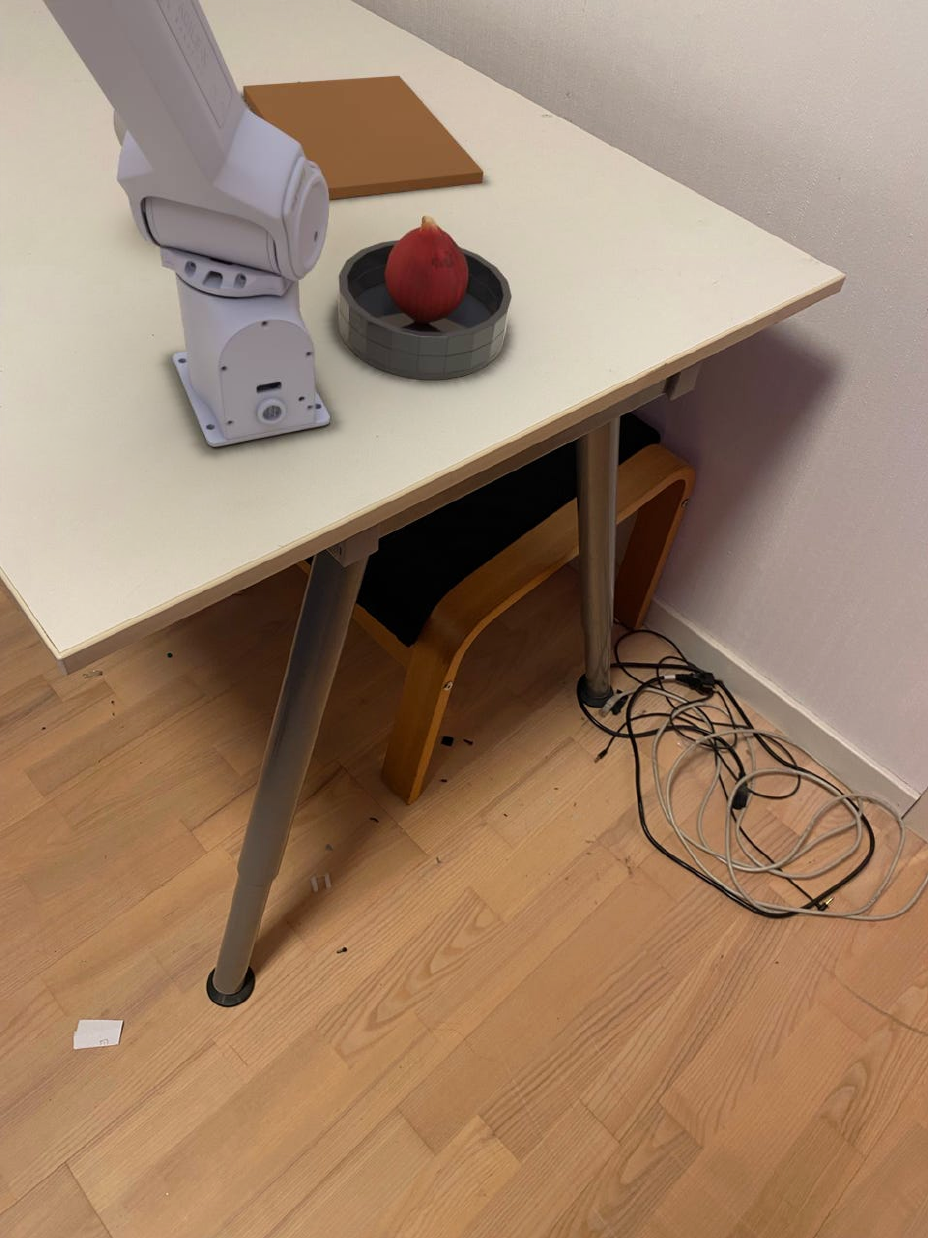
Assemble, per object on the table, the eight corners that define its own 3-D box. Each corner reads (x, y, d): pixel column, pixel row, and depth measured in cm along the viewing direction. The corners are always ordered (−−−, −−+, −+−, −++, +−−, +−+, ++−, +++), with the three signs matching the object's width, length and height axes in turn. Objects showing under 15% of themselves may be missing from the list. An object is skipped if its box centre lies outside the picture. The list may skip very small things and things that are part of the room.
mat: (482, 182, 82) (483, 171, 82) (311, 201, 77) (311, 189, 76) (398, 85, 93) (399, 74, 92) (243, 96, 88) (242, 85, 87)
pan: (531, 363, 67) (540, 321, 64) (374, 393, 62) (376, 349, 60) (462, 271, 73) (467, 230, 70) (315, 293, 69) (315, 250, 66)
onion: (465, 306, 69) (478, 203, 63) (457, 351, 66) (471, 246, 59) (389, 294, 69) (395, 189, 63) (377, 338, 65) (381, 232, 59)
